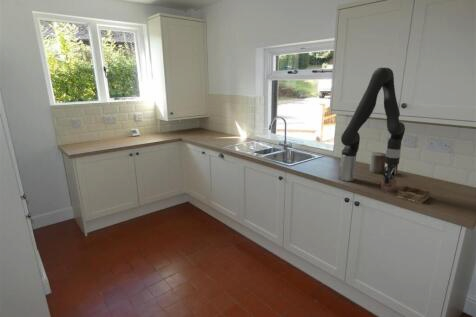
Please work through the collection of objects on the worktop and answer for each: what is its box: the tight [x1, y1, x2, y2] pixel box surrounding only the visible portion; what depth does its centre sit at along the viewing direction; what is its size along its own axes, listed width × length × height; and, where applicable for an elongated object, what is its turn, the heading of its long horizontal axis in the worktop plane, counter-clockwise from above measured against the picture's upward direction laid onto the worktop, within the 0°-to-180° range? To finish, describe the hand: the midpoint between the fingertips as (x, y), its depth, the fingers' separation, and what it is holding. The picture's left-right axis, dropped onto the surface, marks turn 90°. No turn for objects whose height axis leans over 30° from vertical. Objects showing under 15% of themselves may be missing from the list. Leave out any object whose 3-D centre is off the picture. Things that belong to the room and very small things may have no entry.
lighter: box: [380, 175, 398, 193], centre depth 175 cm, size 8×3×10 cm, turn 45°
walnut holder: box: [396, 185, 431, 204], centre depth 166 cm, size 13×13×4 cm
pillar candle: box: [369, 151, 386, 175], centre depth 209 cm, size 10×10×15 cm
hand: (389, 181), depth 175 cm, fingers open, 8 cm apart
